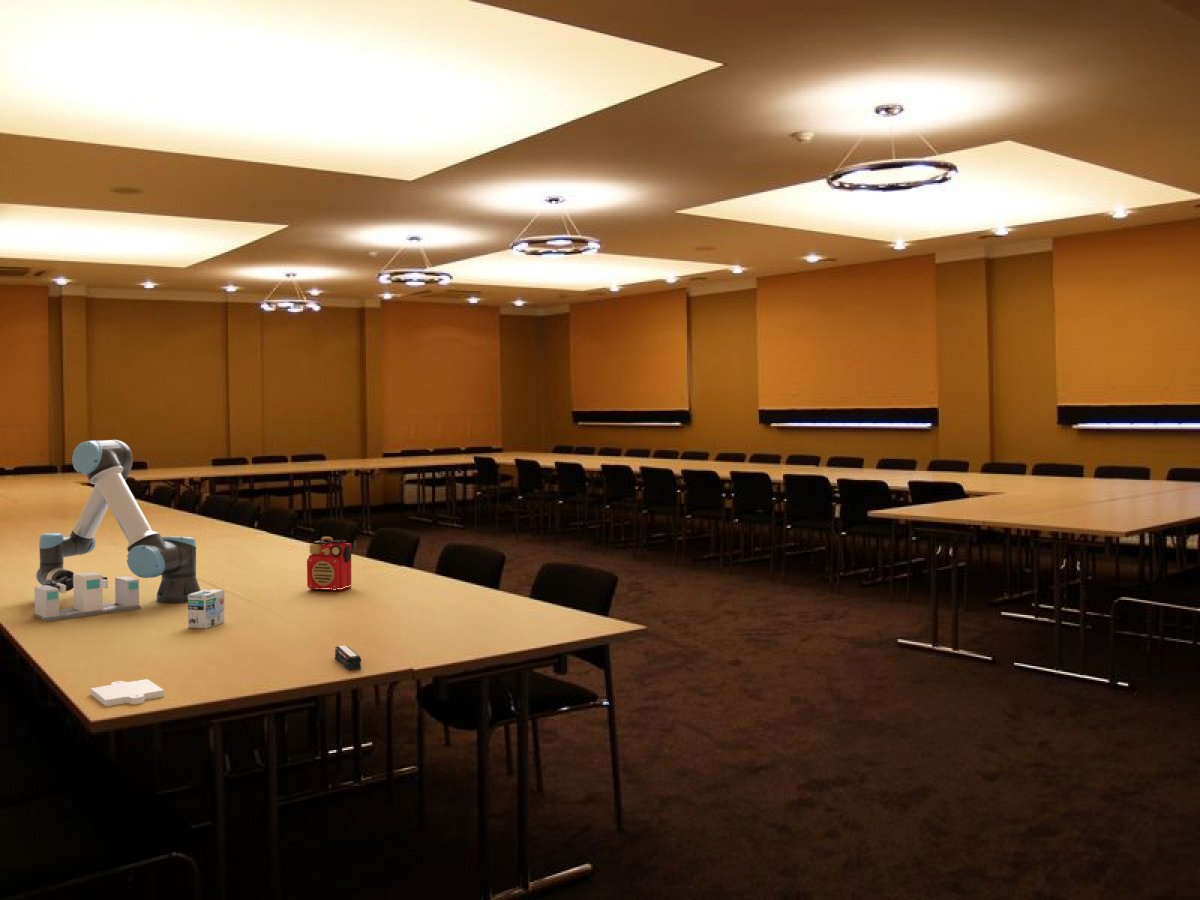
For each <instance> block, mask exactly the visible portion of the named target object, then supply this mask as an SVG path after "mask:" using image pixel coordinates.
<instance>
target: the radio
mask: <svg viewBox="0 0 1200 900" xmlns="http://www.w3.org/2000/svg"><path fill="white" fill-rule="evenodd" d="M326 541H327V542H326ZM309 553H310V554H309V555H308V558H307V560H306V585H307V588H308V589H309V590H314V591H315V590H317V589H314V588H330V589H319V591H321V590H323V591H334V590H333V589H336V590H335V592H336V591H338V592H341V591H345V590H346V589H347V588H350V589H352V543H349V542H347V540H345V539H335V540H334V538H333V537H332V536H322V537H321V538H320V540H313V542H312V543H310V544H309ZM349 585H351V586H349ZM345 586H349V587H345ZM343 587H345V588H343ZM331 588H332V589H331ZM337 588H343V589H337ZM347 590H348V589H347Z"/></svg>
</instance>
